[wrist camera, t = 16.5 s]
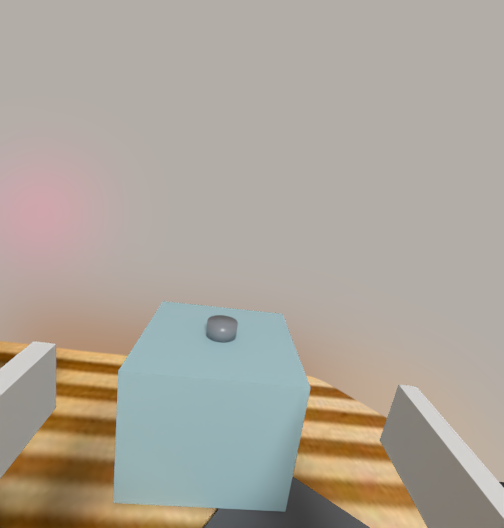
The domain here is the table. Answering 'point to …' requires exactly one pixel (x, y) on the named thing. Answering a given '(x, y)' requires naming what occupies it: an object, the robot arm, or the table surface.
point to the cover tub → (209, 410)
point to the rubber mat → (289, 513)
